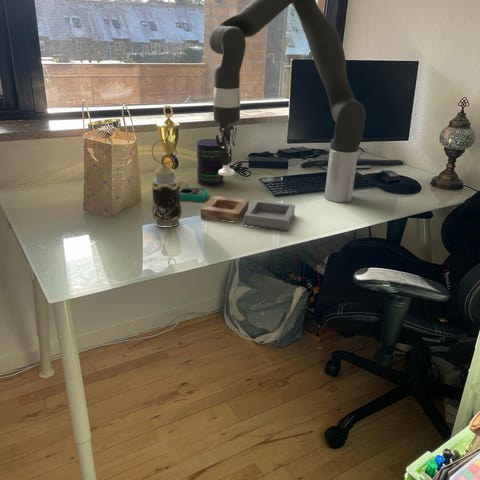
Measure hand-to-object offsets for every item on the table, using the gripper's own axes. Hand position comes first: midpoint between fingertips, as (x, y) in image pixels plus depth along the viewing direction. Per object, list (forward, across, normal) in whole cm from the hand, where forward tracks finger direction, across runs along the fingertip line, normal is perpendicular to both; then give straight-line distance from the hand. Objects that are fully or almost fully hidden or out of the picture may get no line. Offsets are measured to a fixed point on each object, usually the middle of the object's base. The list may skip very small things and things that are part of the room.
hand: (226, 163), depth 137 cm
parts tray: (+16, -1, -14) cm, 22 cm away
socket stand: (+16, 0, 0) cm, 16 cm away
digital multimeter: (+17, +10, +18) cm, 26 cm away
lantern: (+16, -13, +14) cm, 25 cm away
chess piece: (+3, 0, 0) cm, 3 cm away
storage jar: (+16, +27, +14) cm, 35 cm away
